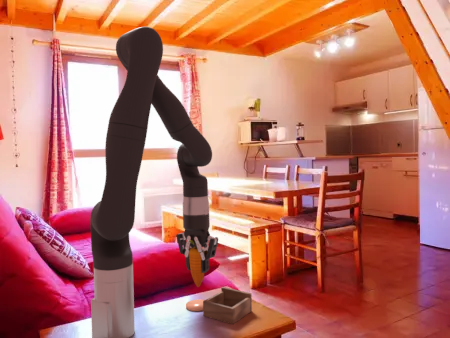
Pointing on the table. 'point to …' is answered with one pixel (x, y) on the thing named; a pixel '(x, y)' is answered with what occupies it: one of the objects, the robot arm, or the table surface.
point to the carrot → (195, 265)
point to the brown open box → (228, 305)
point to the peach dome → (195, 305)
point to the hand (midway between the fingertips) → (197, 270)
